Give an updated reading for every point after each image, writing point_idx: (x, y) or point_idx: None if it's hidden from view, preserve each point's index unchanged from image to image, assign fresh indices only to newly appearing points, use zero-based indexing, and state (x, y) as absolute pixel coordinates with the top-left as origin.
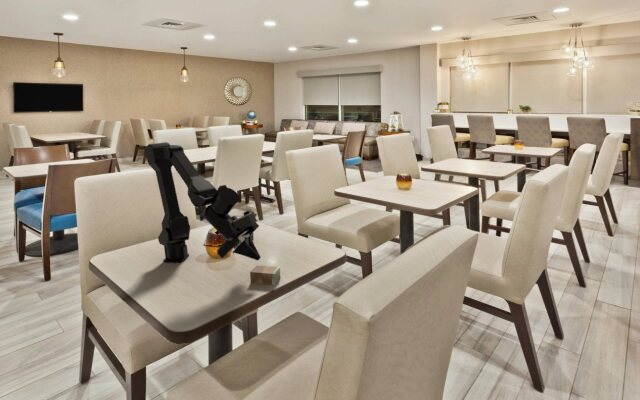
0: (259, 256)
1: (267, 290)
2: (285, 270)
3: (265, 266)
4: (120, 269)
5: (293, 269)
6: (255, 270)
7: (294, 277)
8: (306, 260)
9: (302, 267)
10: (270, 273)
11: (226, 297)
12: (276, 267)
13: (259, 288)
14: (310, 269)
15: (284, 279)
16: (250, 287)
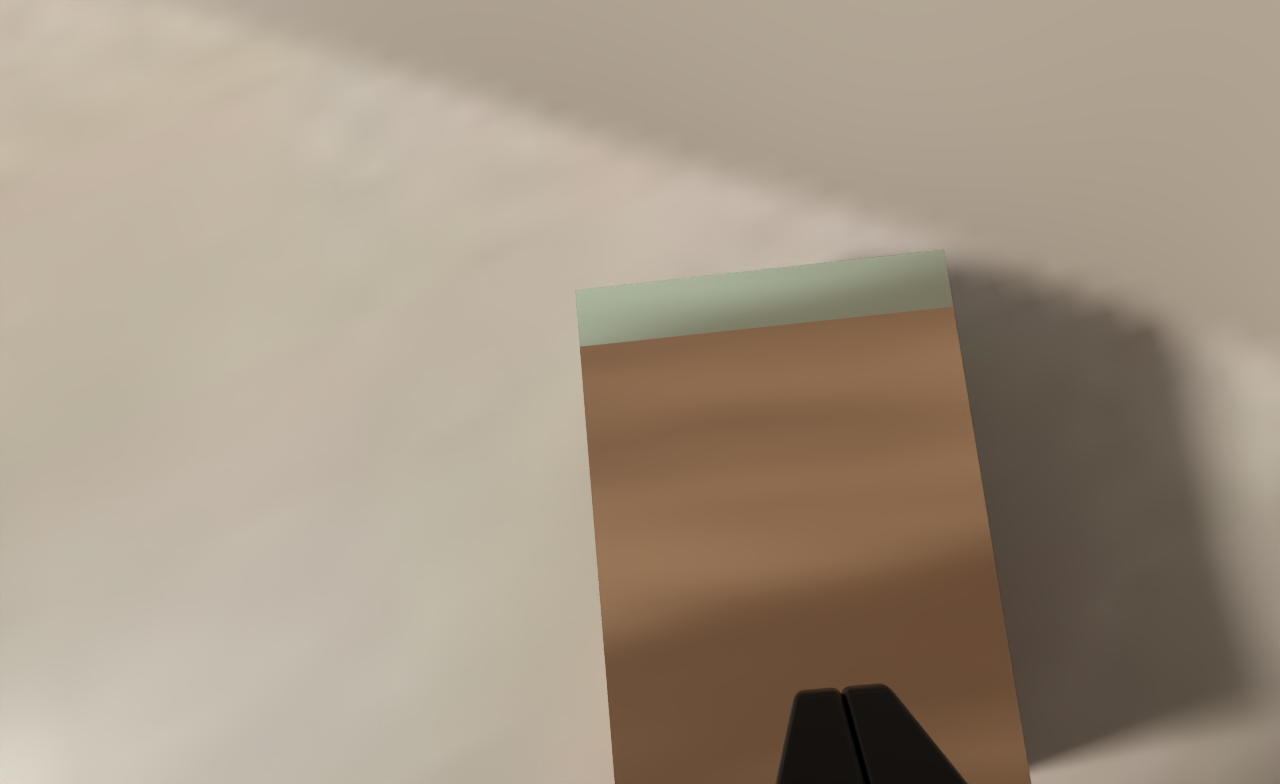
0: (845, 719)
1: (1135, 341)
2: (301, 393)
3: (632, 620)
4: None
5: (234, 278)
6: None
7: (535, 134)
8: None
9: (129, 169)
10: (949, 335)
11: None
12: (614, 352)
13: (1119, 510)
14: (184, 21)
15: (652, 255)
16: (1147, 694)
